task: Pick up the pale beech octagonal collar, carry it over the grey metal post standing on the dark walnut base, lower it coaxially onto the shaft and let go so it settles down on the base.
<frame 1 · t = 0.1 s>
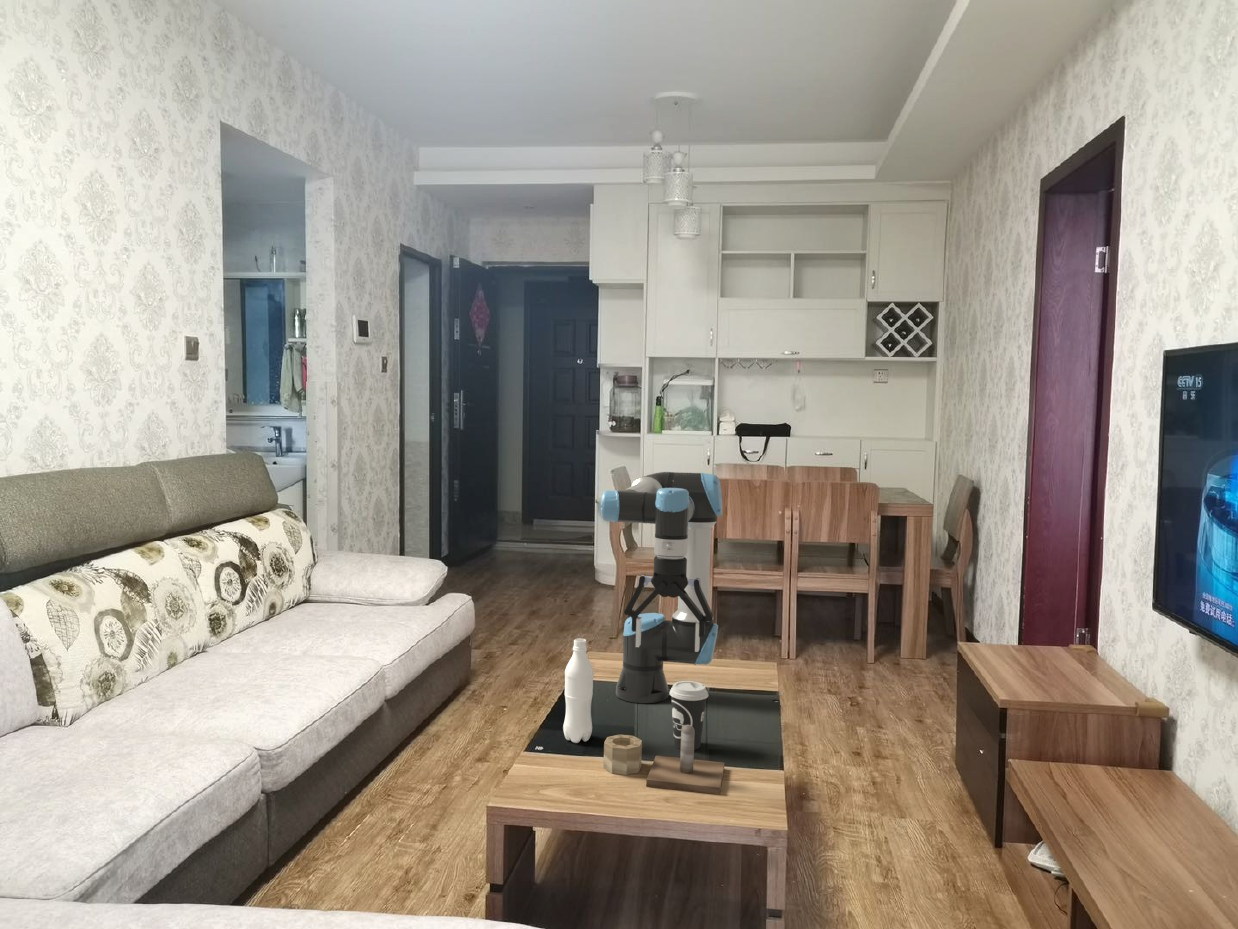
hand: (667, 648, 205), 28 cm above the table, fingers open, 13 cm apart
post base: (686, 777, 201), on the table
water bottle: (577, 740, 223), on the table
coffee cup: (687, 746, 220), on the table
collar: (622, 767, 206), on the table
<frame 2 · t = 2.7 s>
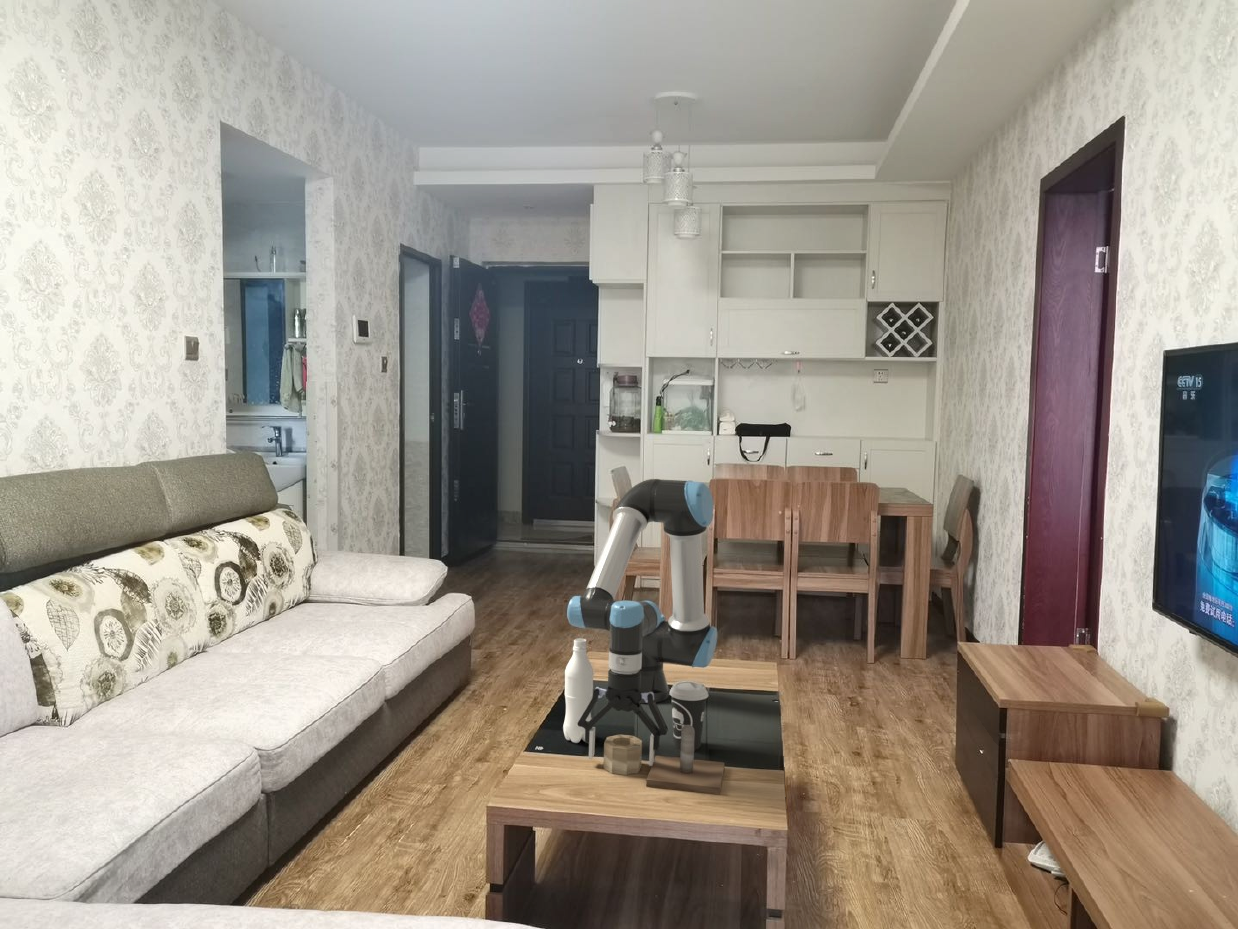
hand: (621, 761, 206), 1 cm above the table, fingers open, 13 cm apart
nothing on the table moved.
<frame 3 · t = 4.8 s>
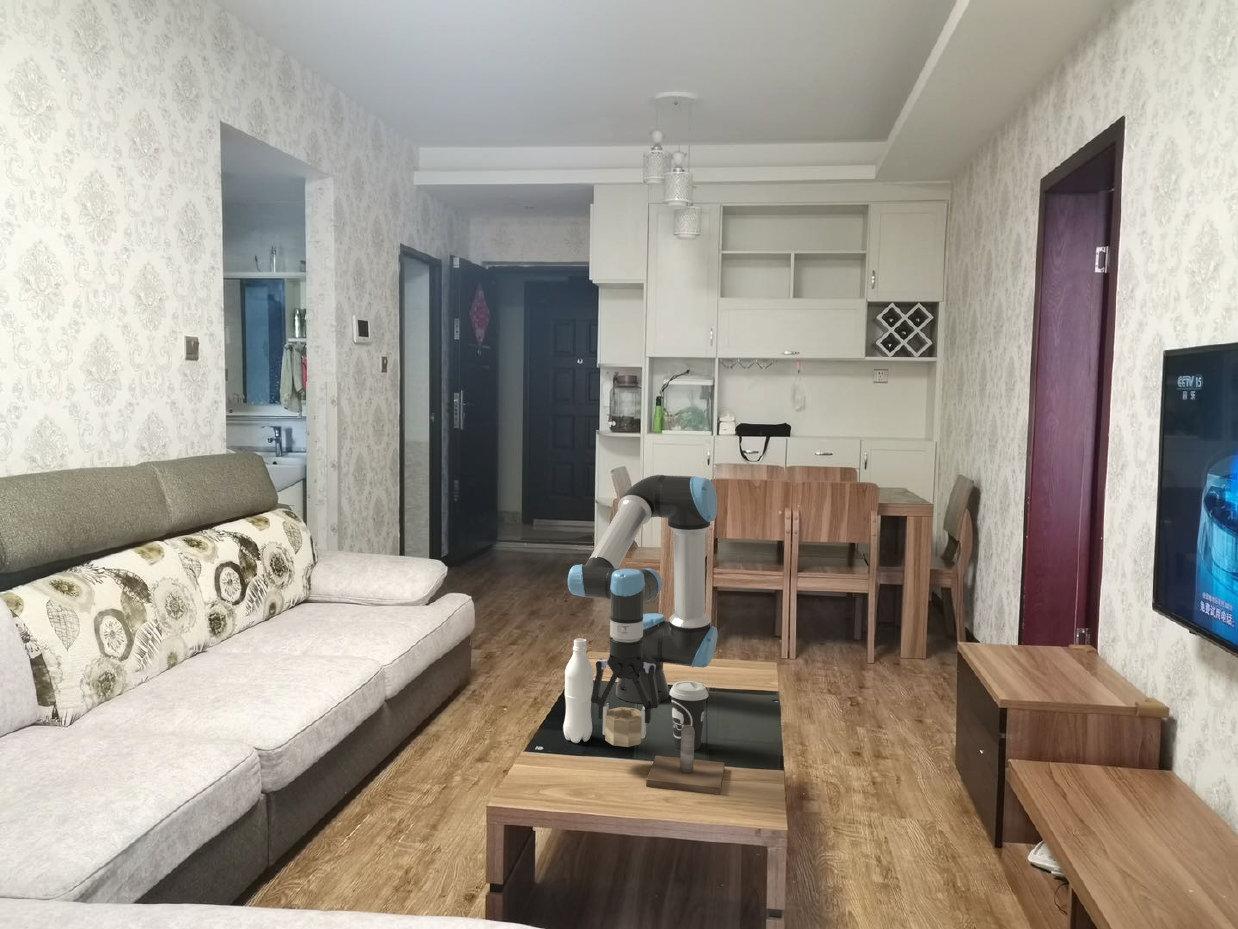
hand: (624, 734, 206), 8 cm above the table, fingers closed on collar, 8 cm apart
collar: (624, 739, 206), point 6 cm above the table, touching gripper
everything else where it was.
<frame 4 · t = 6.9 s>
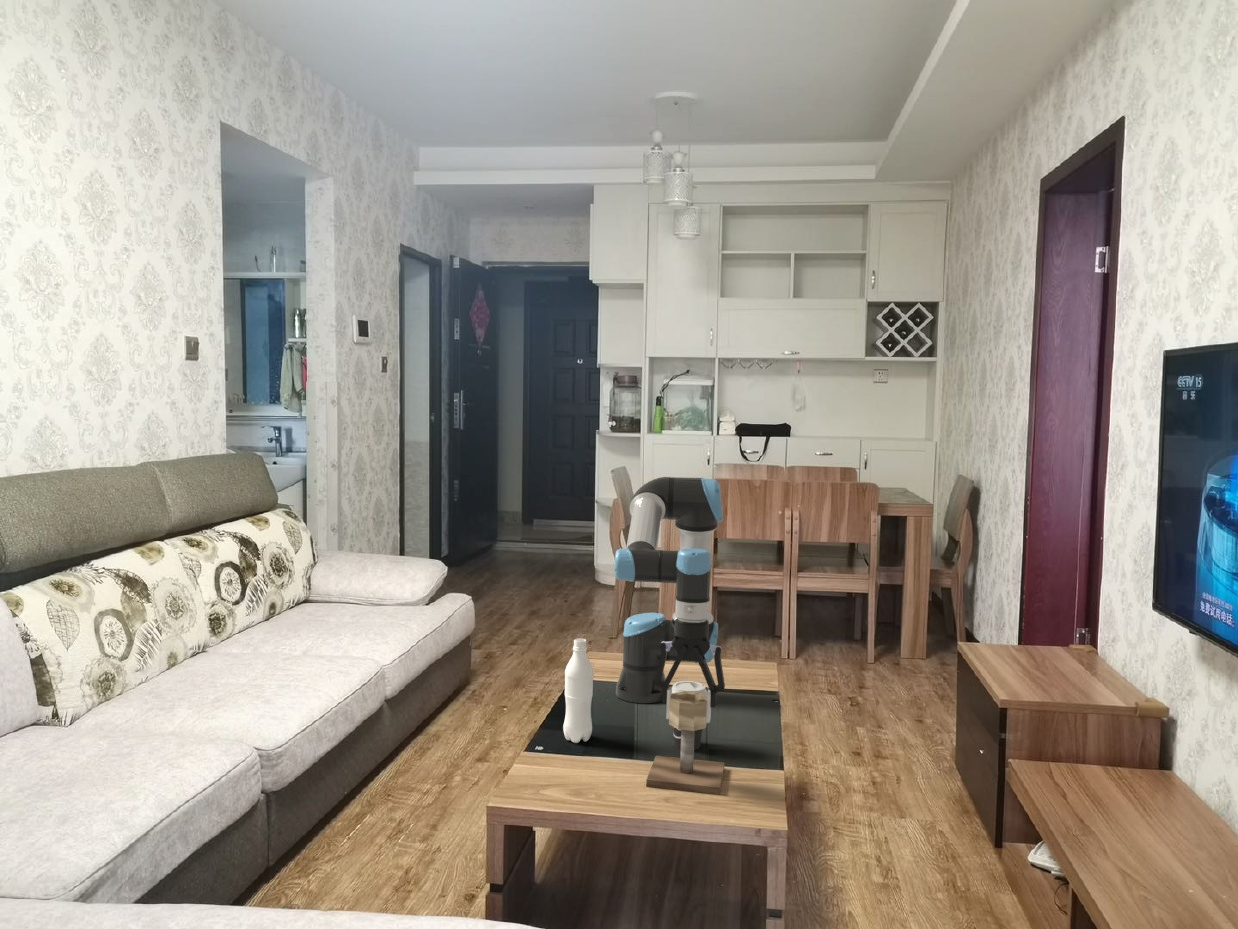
hand: (688, 718, 200), 14 cm above the table, fingers closed on collar, 8 cm apart
collar: (688, 723, 200), point 12 cm above the table, touching gripper
everything else where it was.
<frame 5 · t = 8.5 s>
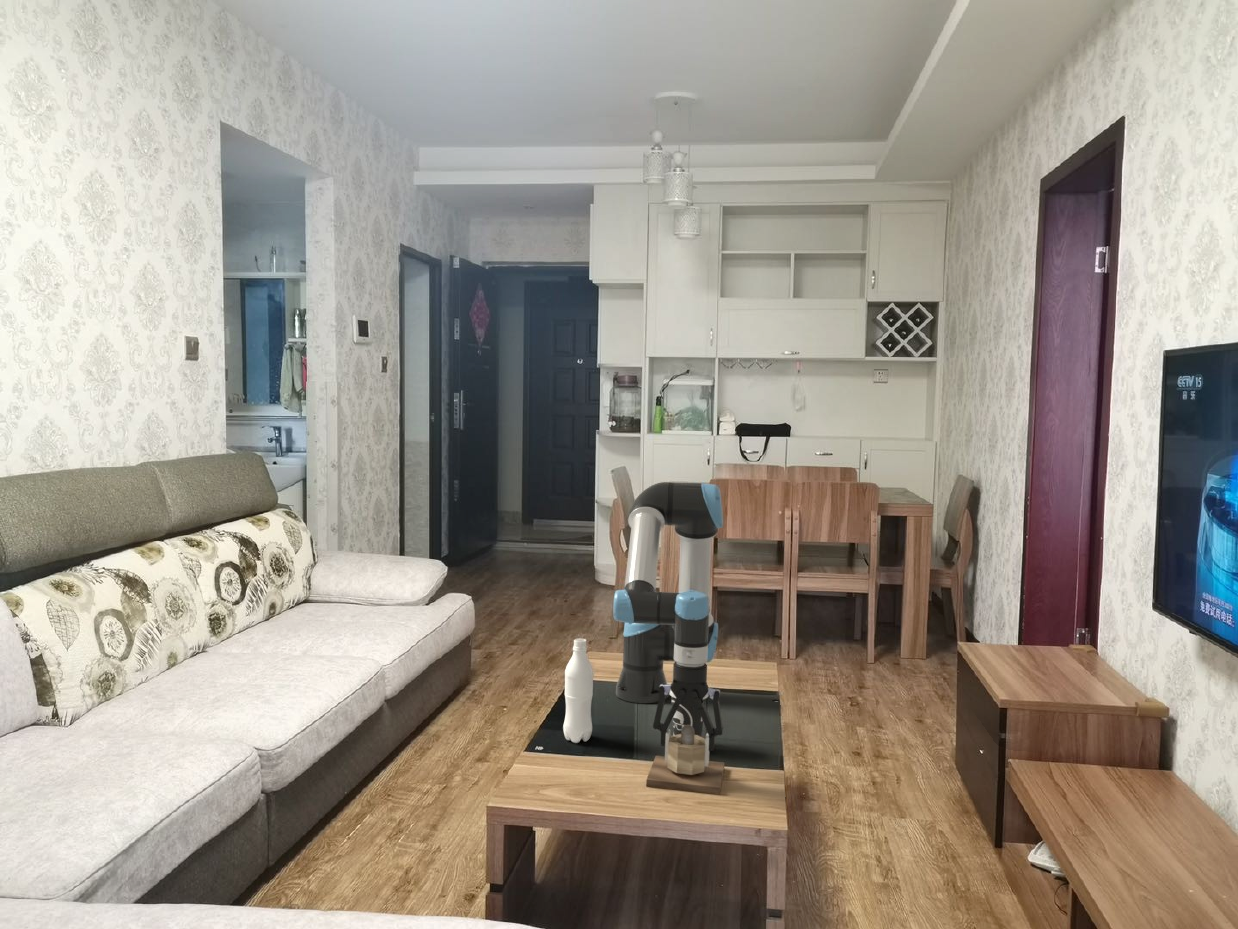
hand: (686, 761, 201), 4 cm above the table, fingers closed on collar, 8 cm apart
collar: (686, 766, 201), point 2 cm above the table, touching gripper
everything else where it was.
when the fingers open (3 cm above the table, at t = 9.4 s): collar stays where it is, resting on post base.
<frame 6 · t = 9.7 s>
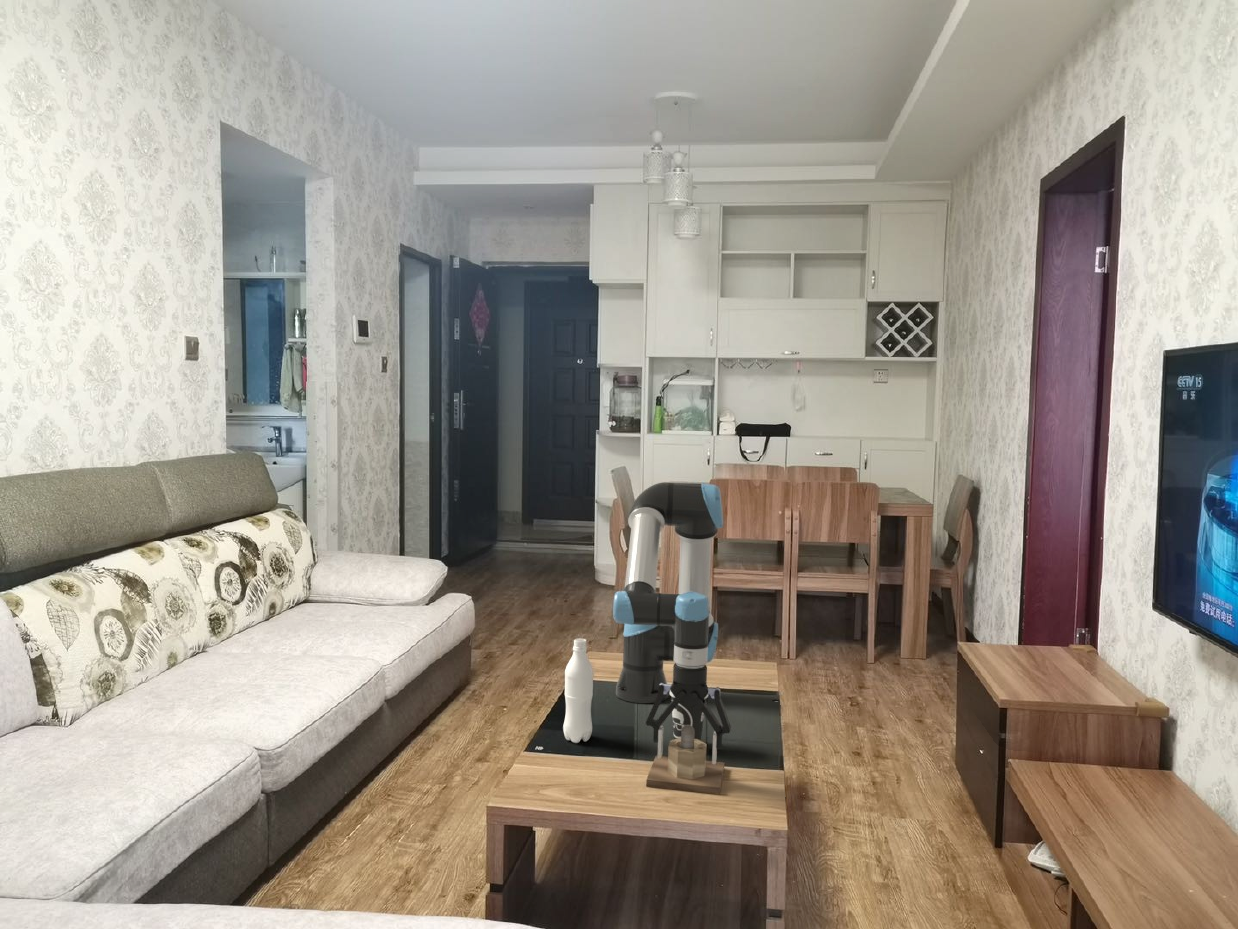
hand: (686, 759, 201), 4 cm above the table, fingers open, 11 cm apart
collar: (686, 771, 201), point 1 cm above the table, touching post base
everything else where it was.
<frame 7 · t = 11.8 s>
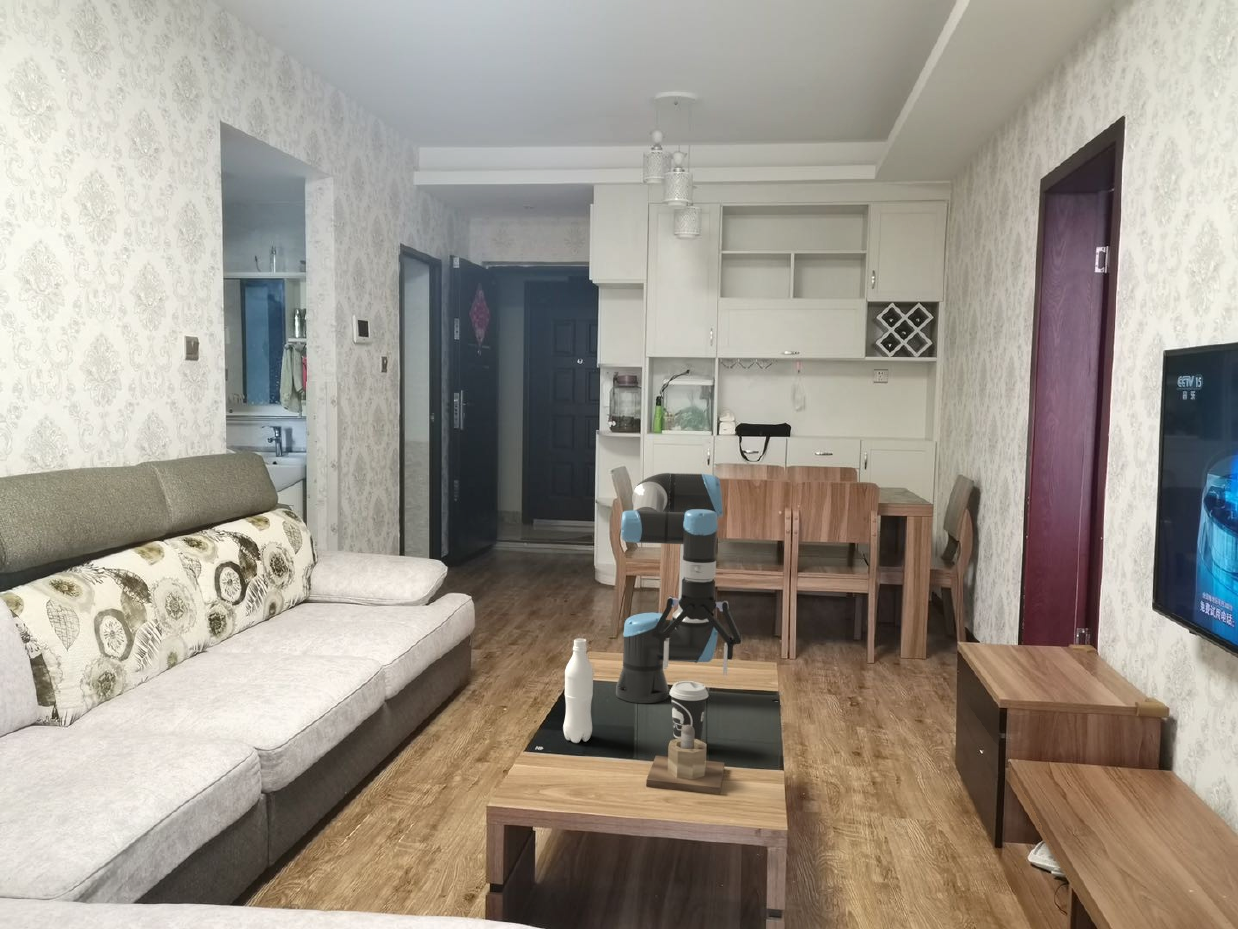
hand: (695, 670, 204), 23 cm above the table, fingers open, 13 cm apart
nothing on the table moved.
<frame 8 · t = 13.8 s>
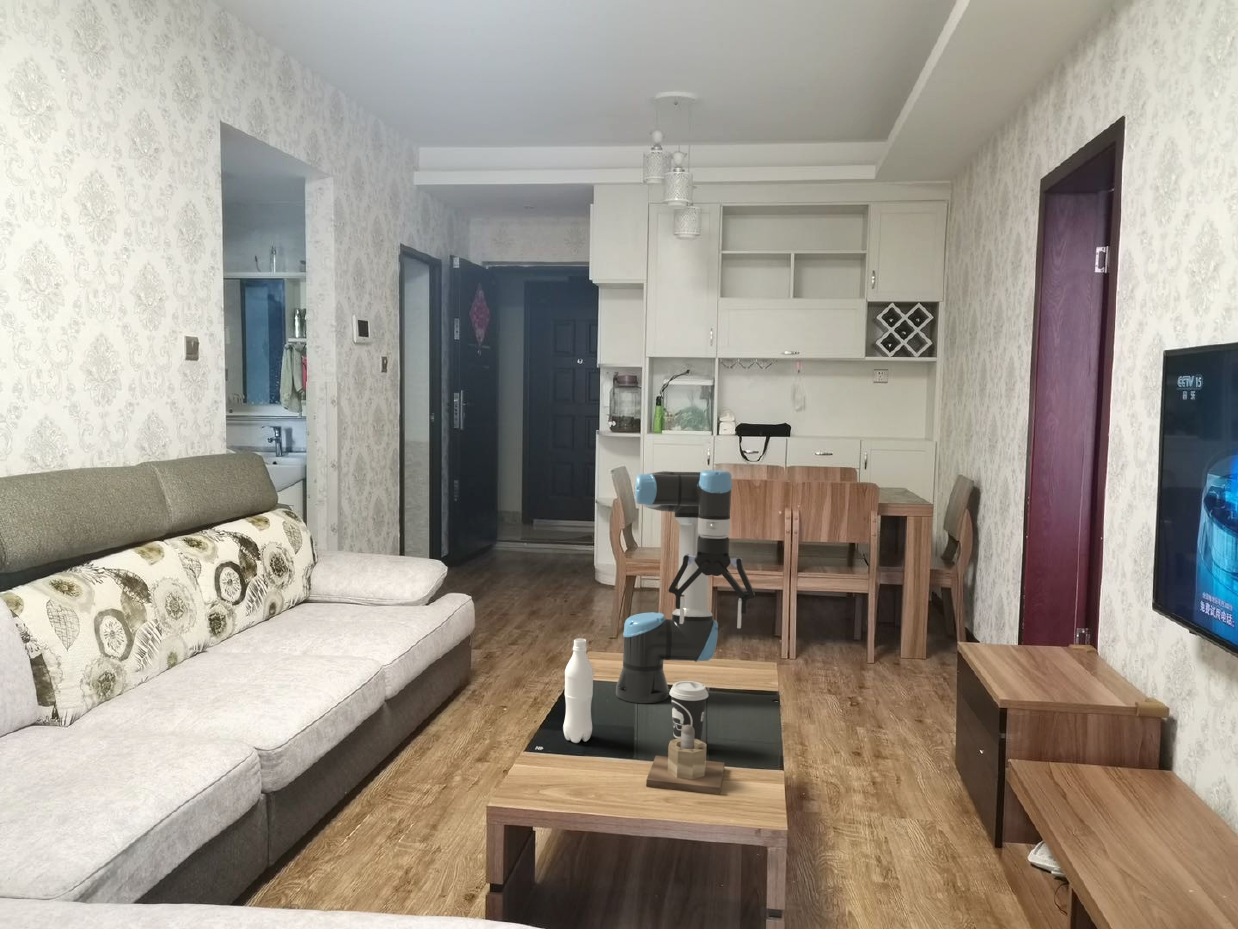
hand: (710, 625, 213), 32 cm above the table, fingers open, 13 cm apart
nothing on the table moved.
at the end: collar 0.0 cm off-centre on the post base, point 1.5 cm above the post base's base; the gripper is holding nothing; collar tilted 0° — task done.
